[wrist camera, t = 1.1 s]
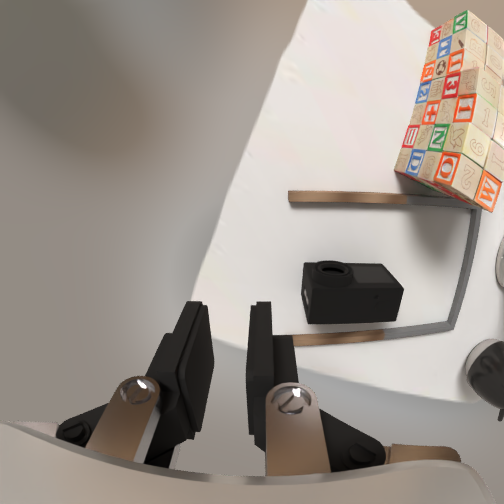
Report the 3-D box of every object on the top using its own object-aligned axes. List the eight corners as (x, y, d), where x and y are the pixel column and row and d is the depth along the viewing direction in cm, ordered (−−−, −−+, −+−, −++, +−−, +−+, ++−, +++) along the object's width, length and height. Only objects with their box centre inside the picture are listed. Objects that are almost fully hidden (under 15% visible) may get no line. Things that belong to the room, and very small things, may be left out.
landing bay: (477, 200, 31) (482, 202, 29) (450, 325, 37) (453, 329, 36) (402, 194, 31) (407, 195, 30) (380, 334, 38) (383, 339, 37)
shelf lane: (402, 194, 31) (407, 195, 30) (380, 334, 38) (383, 339, 37) (288, 190, 32) (289, 192, 31) (285, 340, 39) (285, 346, 37)
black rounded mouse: (450, 377, 42) (483, 433, 27) (470, 333, 38) (515, 388, 24) (484, 369, 41) (517, 417, 27) (504, 327, 38) (546, 373, 24)
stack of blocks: (429, 29, 23) (483, 0, 12) (465, 54, 24) (522, 37, 12) (392, 171, 30) (451, 187, 19) (431, 191, 31) (494, 215, 19)
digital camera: (384, 254, 34) (408, 278, 27) (377, 293, 36) (396, 321, 29) (304, 252, 34) (313, 277, 28) (300, 293, 36) (308, 324, 30)
